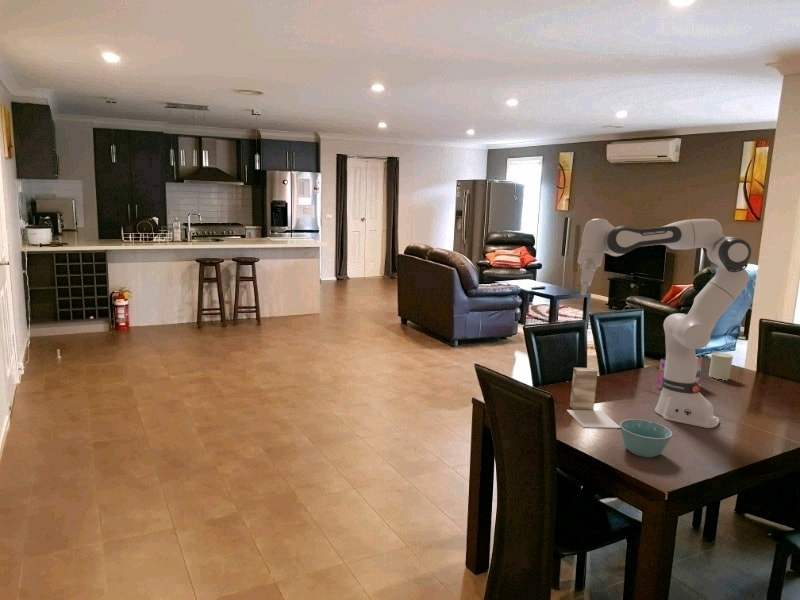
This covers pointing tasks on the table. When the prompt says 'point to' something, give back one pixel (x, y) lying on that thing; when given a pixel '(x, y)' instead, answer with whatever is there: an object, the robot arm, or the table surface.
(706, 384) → the table surface
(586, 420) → the mat
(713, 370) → the can
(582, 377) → the birch block
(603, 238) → the robot arm
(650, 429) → the bowl
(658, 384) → the gum box
